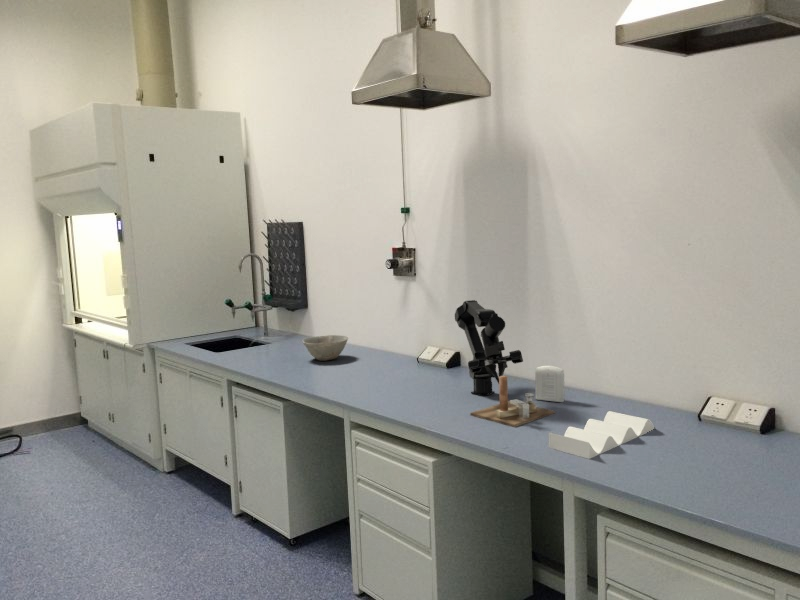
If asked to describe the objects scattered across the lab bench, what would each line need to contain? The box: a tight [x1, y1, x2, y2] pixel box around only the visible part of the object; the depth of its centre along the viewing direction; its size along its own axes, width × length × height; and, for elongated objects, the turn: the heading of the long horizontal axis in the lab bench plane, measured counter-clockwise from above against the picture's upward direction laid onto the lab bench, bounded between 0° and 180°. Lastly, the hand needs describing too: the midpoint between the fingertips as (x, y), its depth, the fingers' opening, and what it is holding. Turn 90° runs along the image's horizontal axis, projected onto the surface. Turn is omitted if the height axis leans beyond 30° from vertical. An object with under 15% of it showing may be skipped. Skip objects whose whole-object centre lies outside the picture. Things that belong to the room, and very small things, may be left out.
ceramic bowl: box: [301, 334, 349, 362], centre depth 324 cm, size 22×23×10 cm
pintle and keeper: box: [509, 392, 534, 419], centre depth 217 cm, size 8×7×6 cm
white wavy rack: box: [548, 410, 656, 460], centre depth 194 cm, size 13×35×5 cm, turn 131°
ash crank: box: [496, 375, 537, 418], centre depth 217 cm, size 15×4×13 cm, turn 115°
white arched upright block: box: [535, 365, 565, 403], centre depth 236 cm, size 10×4×12 cm, turn 60°
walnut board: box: [469, 400, 555, 428], centre depth 221 cm, size 19×20×1 cm
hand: (500, 384), depth 228 cm, fingers closed
